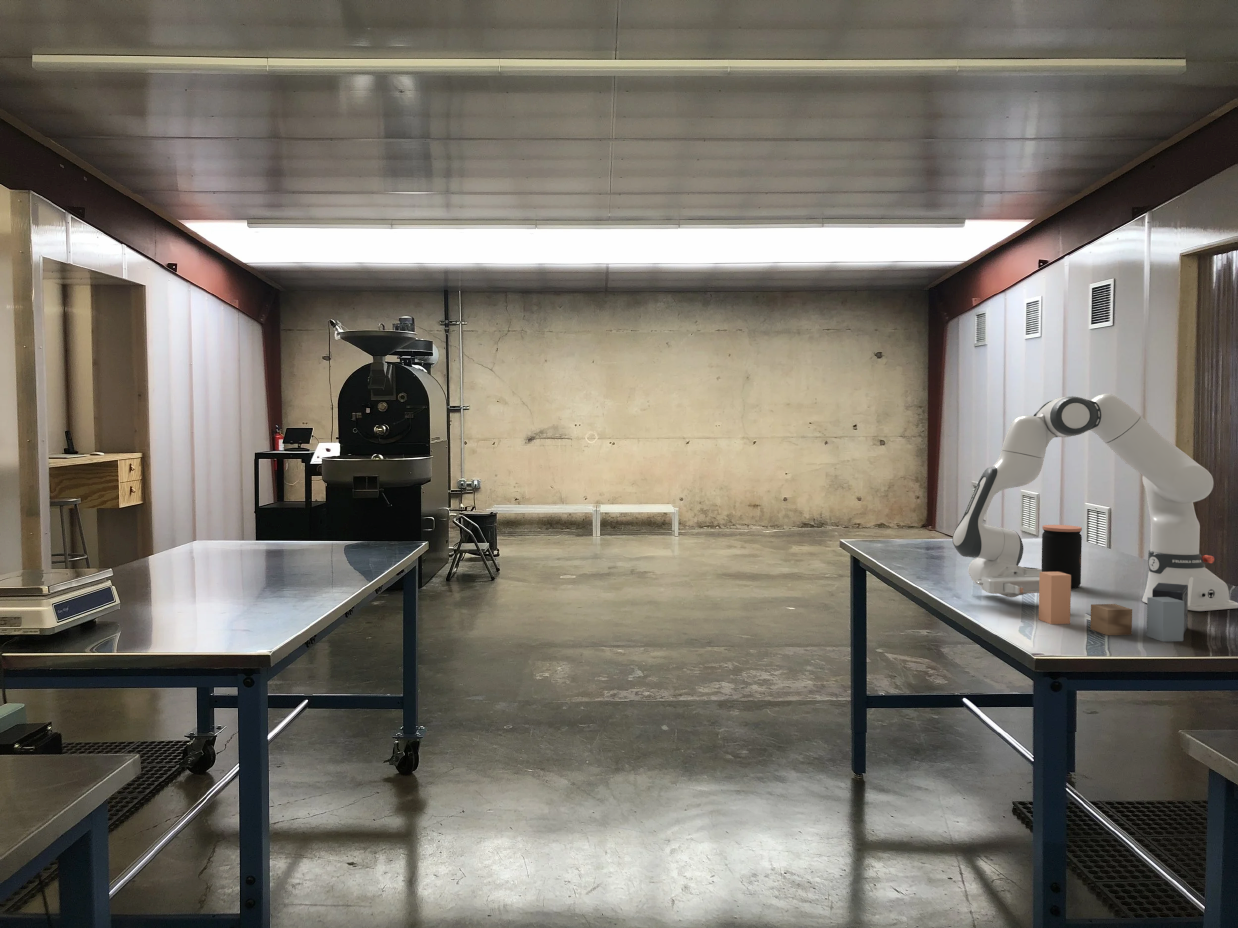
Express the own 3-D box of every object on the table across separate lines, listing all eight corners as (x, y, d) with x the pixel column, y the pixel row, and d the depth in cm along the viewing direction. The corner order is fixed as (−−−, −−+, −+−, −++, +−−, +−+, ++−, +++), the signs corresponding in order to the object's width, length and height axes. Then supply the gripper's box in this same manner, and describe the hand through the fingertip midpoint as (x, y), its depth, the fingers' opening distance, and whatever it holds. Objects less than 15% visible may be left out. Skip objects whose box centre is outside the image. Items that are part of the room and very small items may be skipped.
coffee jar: (1088, 589, 247) (1089, 528, 246) (1051, 589, 247) (1053, 528, 246) (1069, 582, 257) (1070, 524, 257) (1034, 582, 258) (1035, 524, 257)
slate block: (1166, 635, 192) (1167, 596, 191) (1183, 640, 187) (1184, 601, 186) (1146, 635, 191) (1147, 597, 191) (1162, 641, 186) (1163, 601, 186)
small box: (1156, 623, 203) (1157, 581, 203) (1188, 627, 199) (1189, 584, 198) (1150, 632, 195) (1151, 587, 194) (1183, 636, 191) (1184, 591, 190)
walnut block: (1114, 628, 199) (1114, 603, 198) (1131, 634, 193) (1132, 609, 192) (1090, 629, 198) (1090, 604, 198) (1107, 635, 192) (1107, 609, 192)
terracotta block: (1057, 618, 209) (1058, 571, 208) (1070, 623, 204) (1071, 575, 203) (1038, 619, 208) (1039, 571, 208) (1050, 624, 203) (1051, 575, 203)
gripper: (972, 569, 225) (999, 578, 211) (1044, 568, 227) (1076, 577, 213) (971, 592, 226) (999, 603, 212) (1043, 590, 227) (1075, 601, 213)
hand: (1038, 590), depth 212 cm, fingers open, 8 cm apart
